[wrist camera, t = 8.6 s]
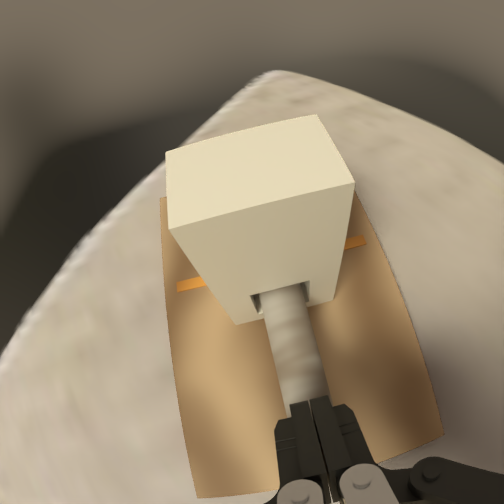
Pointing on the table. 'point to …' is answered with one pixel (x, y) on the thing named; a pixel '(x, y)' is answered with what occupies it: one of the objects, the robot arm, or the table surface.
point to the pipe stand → (293, 364)
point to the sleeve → (261, 212)
